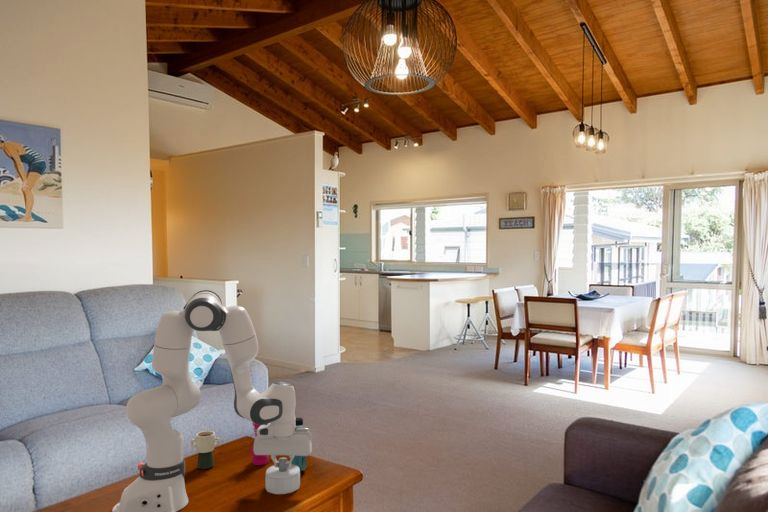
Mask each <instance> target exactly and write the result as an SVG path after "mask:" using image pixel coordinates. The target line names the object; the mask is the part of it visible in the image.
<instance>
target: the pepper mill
mask: <svg viewBox="0 0 768 512" xmlns="http://www.w3.org/2000/svg"><path fill="white" fill-rule="evenodd" d="M252 426H253V427H254V428H253V432H254V436H255V437H254V439H255V438H256V436H257V429H258V428H259V427H260V426H261V425H257V424H254V423H253V422H252ZM250 454H251V456H252V458H251V463H252V464H253V465H254V464H255V466H262V465H266V464H267V463H269V455H255V453H254V442H253V444H252V446H251V450H250Z"/></svg>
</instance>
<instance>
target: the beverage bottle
mask: <svg viewBox="0 0 768 512" xmlns="http://www.w3.org/2000/svg"><path fill="white" fill-rule="evenodd" d="M295 418H296V428H305V427H304V426H303V425H304V419H303V417H295ZM290 459H291V458H289V460H288V461H290ZM307 463H308V461H307V456H294V458H293V460H292V462H291V464H293V465H296V466H298V467H299V469H300V472H302V471H304V470H305V469H306V468H307Z"/></svg>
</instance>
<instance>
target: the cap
mask: <svg viewBox="0 0 768 512" xmlns="http://www.w3.org/2000/svg"><path fill="white" fill-rule="evenodd" d="M278 461H279V468H275V467H274V465H271V466H269V467H268V468H267V469H266V470H265V475H264V477H265V487H264V488H265V490H266V492H267V493H270V494H273V495H286V494H291V493H293V492H296V491H297V490H298V489H299V488H300V486H301V471H300V469H299V467H298V466H296V465H293V464H291V468H286V466H287V465H286V463H287V461H288V458H287V457H286V456H285V457H283V456H282V457H280V458H278Z"/></svg>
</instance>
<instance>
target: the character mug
mask: <svg viewBox="0 0 768 512" xmlns="http://www.w3.org/2000/svg"><path fill="white" fill-rule="evenodd" d="M216 441H217V443H216ZM194 442H195V444H194ZM219 446H221V438H220V437H219V436H218V437H216V432H215V431H212V430H204V431H199V432H197V433H196V434H195V438H191V439H190V448H195V451H196V452H197V453H198V455H197V460H196V468H198V469H199V470H200V469H201V470H206V469H209V468H213V466H214V465H215V461H214V456H213V455H214V453H213V451H214V450H215V449H216V447H219Z"/></svg>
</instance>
